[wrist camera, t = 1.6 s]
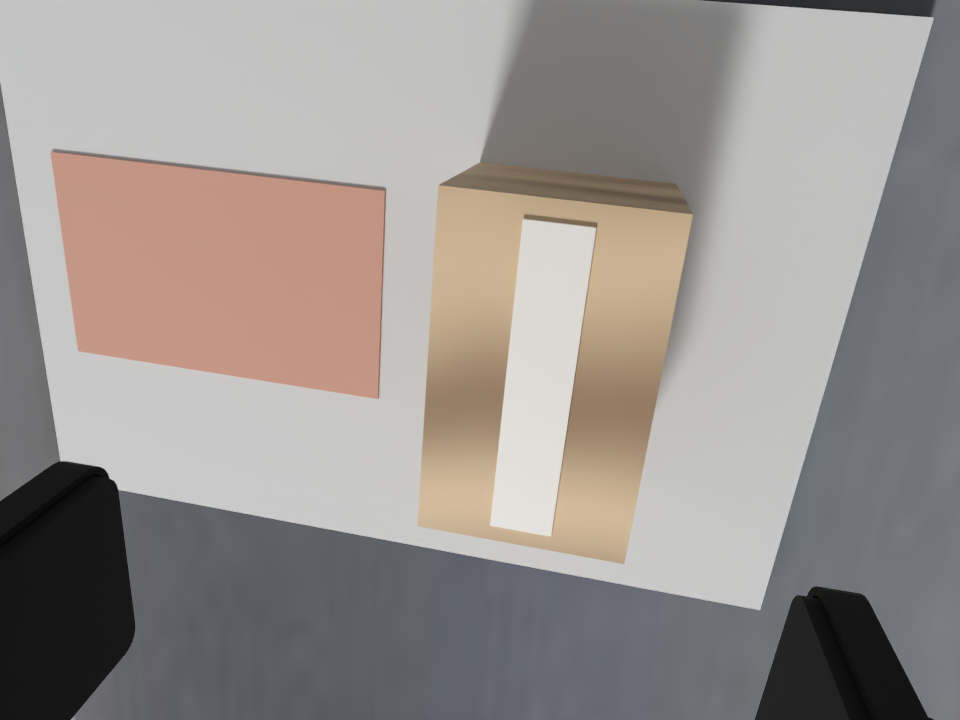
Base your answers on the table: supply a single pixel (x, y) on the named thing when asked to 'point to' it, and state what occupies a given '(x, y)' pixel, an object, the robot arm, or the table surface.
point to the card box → (546, 353)
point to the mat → (411, 239)
